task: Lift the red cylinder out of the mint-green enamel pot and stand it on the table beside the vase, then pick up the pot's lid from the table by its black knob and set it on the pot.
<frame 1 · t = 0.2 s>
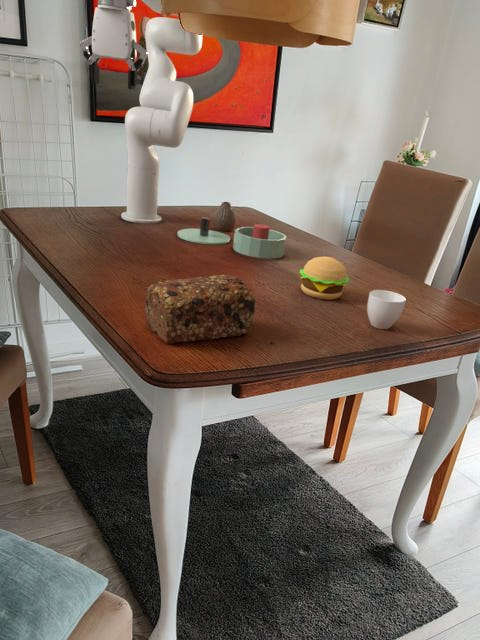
hand: (113, 86, 146), 37 cm above the table, tool pointing down, fingers open, 9 cm apart
vase: (223, 231, 185), on the table
red cylinder: (258, 251, 167), resting on pot
hamburger: (320, 294, 142), on the table
lid: (203, 237, 173), point 1 cm above the table
cup: (377, 324, 128), on the table
bread: (198, 331, 112), on the table
pot: (258, 252, 167), on the table
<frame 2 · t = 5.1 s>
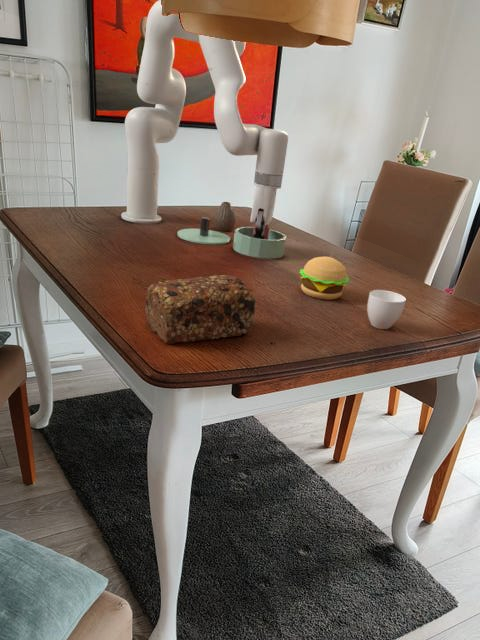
hand: (258, 247, 167), 2 cm above the table, tool pointing down, fingers closed on red cylinder, 4 cm apart
red cylinder: (258, 251, 167), point 1 cm above the table, touching gripper, pot
everything else where it was.
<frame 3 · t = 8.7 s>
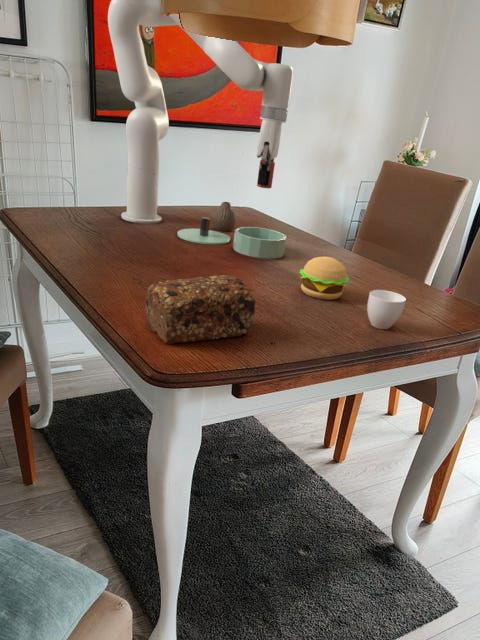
hand: (264, 183, 173), 16 cm above the table, tool pointing down, fingers closed on red cylinder, 4 cm apart
red cylinder: (264, 186, 174), point 15 cm above the table, touching gripper
everything else where it was.
when the fingers open (1 cm above the table, at t = 12.6 s): red cylinder stays where it is, on the table.
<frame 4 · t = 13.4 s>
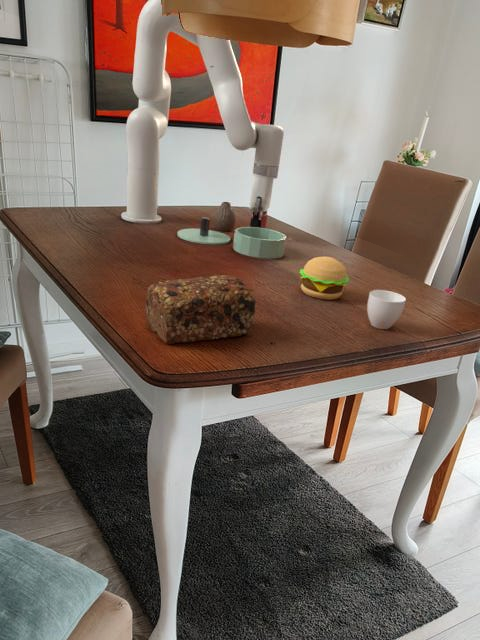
hand: (257, 229, 182), 2 cm above the table, tool pointing down, fingers open, 9 cm apart
red cylinder: (257, 237, 184), on the table
everything else where it was.
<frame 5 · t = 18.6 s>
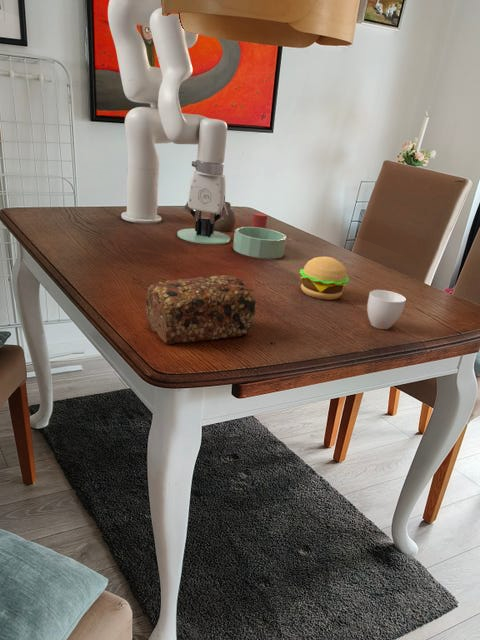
hand: (204, 234, 172), 1 cm above the table, tool pointing down, fingers closed on lid, 2 cm apart
lid: (203, 237, 173), point 1 cm above the table, touching gripper
everything else where it was.
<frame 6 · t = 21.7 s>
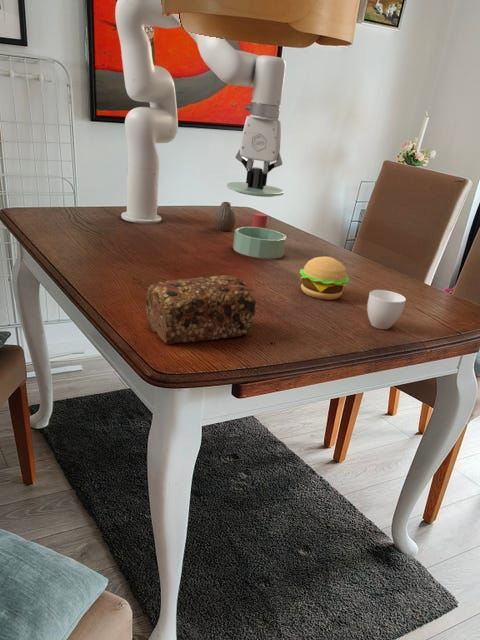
hand: (255, 187, 160), 17 cm above the table, tool pointing down, fingers closed on lid, 2 cm apart
lid: (255, 190, 160), point 17 cm above the table, touching gripper
everything else where it was.
when the fingers open (6 cm above the table, at t = 24.8 s): lid stays where it is, resting on pot.
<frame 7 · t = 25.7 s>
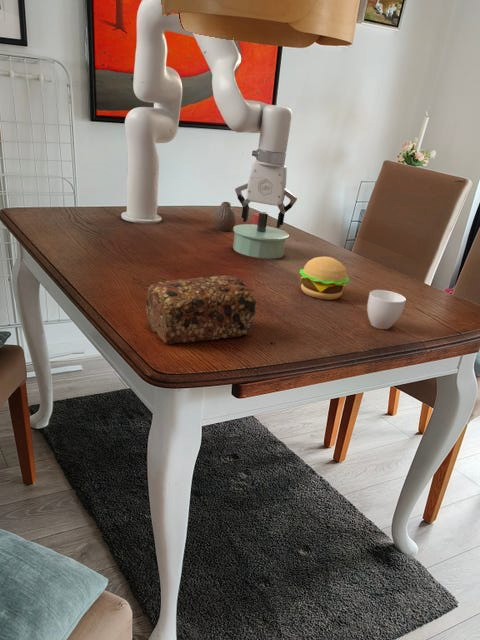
hand: (261, 224, 163), 8 cm above the table, tool pointing down, fingers open, 9 cm apart
lid: (260, 233, 165), point 5 cm above the table, touching pot
everything else where it was.
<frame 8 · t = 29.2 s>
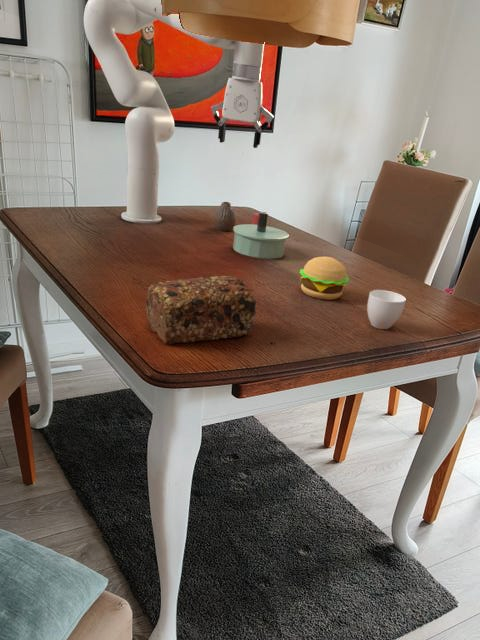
hand: (238, 144, 163), 26 cm above the table, tool pointing down, fingers open, 9 cm apart
nothing on the table moved.
at the end: red cylinder inside the target area (0.2 cm from its centre), on the table; lid 0.0 cm off-centre on the pot, point 5.5 cm above the pot's base; lid tilted 0° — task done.
